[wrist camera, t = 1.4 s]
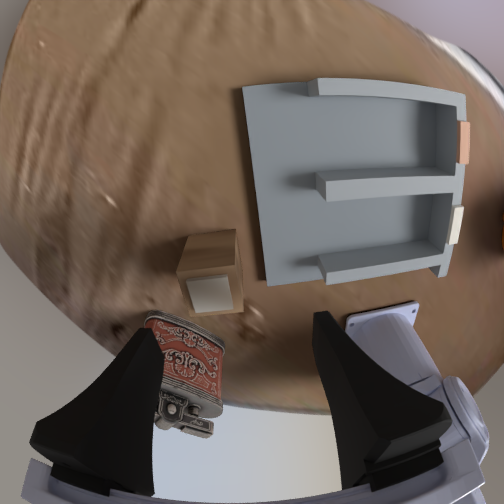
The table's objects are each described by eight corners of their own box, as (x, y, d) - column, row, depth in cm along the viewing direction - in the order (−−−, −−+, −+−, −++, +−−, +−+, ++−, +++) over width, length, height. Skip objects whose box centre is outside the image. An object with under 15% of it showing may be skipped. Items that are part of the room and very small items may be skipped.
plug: (242, 269, 22) (243, 314, 17) (198, 275, 22) (189, 320, 18) (235, 228, 20) (234, 267, 16) (188, 235, 20) (174, 274, 16)
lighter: (141, 325, 25) (112, 415, 16) (153, 303, 23) (122, 398, 15) (214, 358, 27) (209, 447, 18) (231, 340, 26) (231, 435, 17)
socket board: (427, 256, 22) (448, 278, 19) (266, 280, 23) (270, 310, 19) (438, 92, 15) (468, 94, 12) (242, 87, 16) (242, 82, 12)
